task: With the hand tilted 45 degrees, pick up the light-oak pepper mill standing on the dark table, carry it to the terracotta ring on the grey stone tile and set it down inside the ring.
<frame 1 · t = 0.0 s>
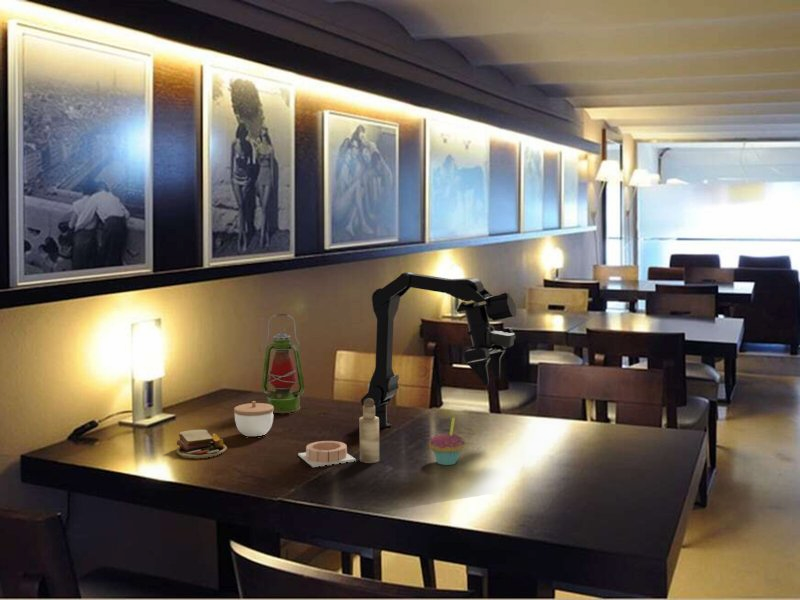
hand: (492, 381, 223), 15 cm above the table, tool pointing down, fingers open, 9 cm apart
ring: (326, 458, 207), on the table
lantern: (283, 410, 259), on the table
toy sandwich meal: (199, 453, 214), on the table
pepper mill: (369, 460, 206), on the table
lidded jar: (254, 435, 230), on the table
cupcake: (446, 463, 203), on the table
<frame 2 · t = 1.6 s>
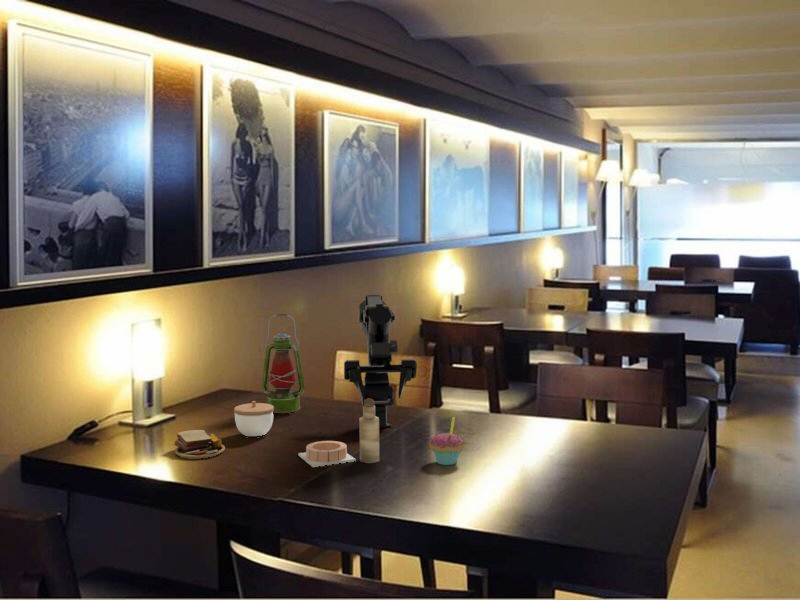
hand: (381, 398, 212), 14 cm above the table, tool tilted 40°, fingers open, 9 cm apart
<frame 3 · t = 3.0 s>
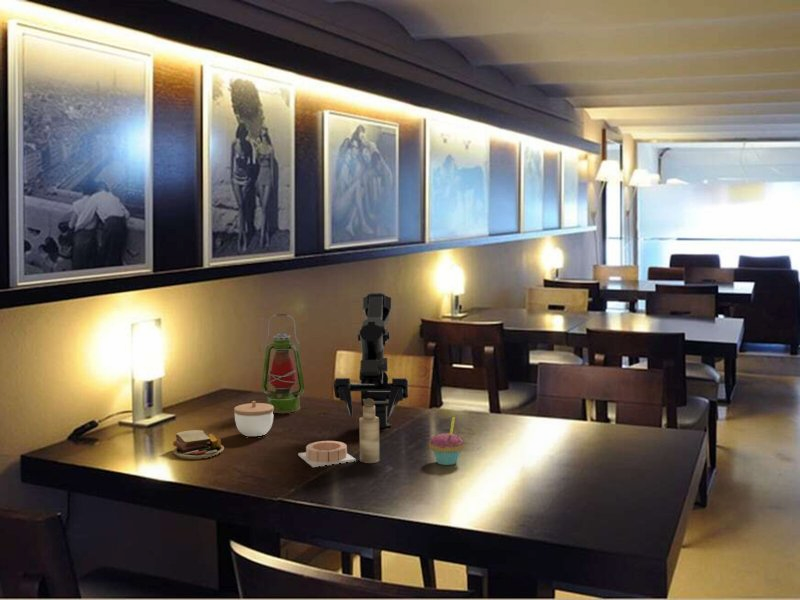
hand: (369, 416, 208), 10 cm above the table, tool tilted 45°, fingers open, 9 cm apart
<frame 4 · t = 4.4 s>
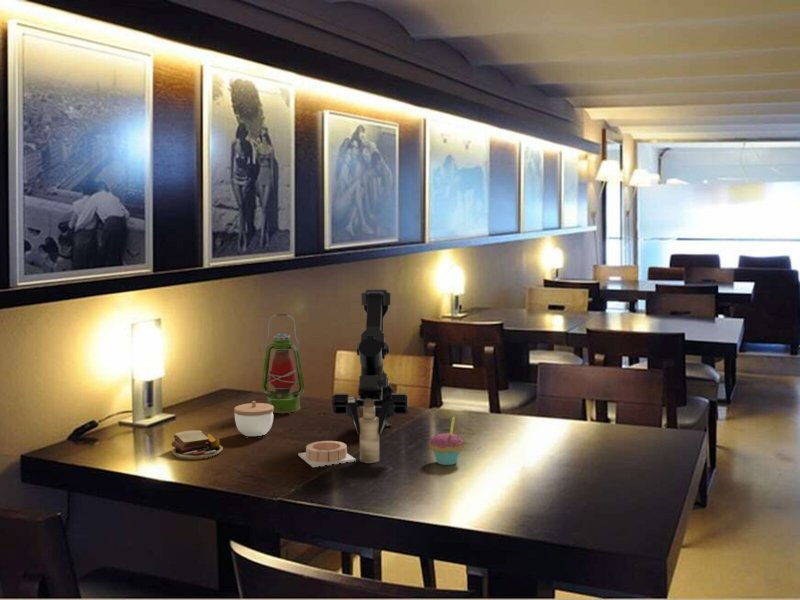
hand: (368, 433, 204), 7 cm above the table, tool tilted 45°, fingers closed on pepper mill, 5 cm apart
pepper mill: (369, 460, 206), on the table, touching gripper
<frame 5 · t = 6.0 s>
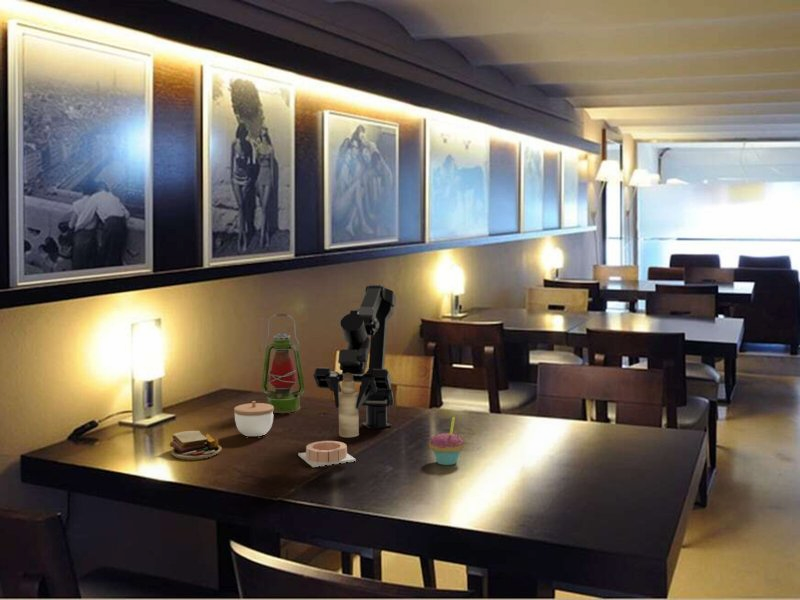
hand: (347, 407, 203), 13 cm above the table, tool tilted 45°, fingers closed on pepper mill, 5 cm apart
pepper mill: (348, 434, 205), point 6 cm above the table, touching gripper
when the fingers open (9 cm above the table, at t = 7.8 s): pepper mill drops 1 cm, resting on ring.
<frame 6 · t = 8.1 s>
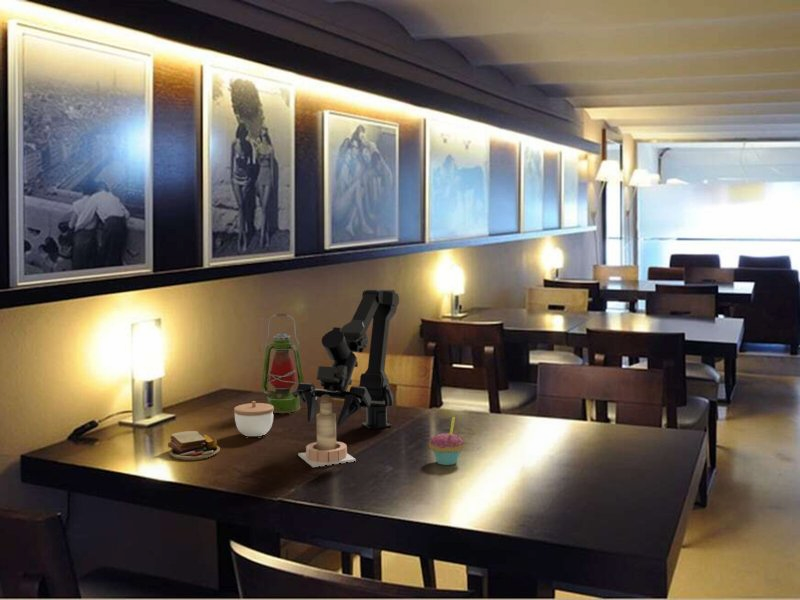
hand: (323, 423, 205), 9 cm above the table, tool tilted 45°, fingers open, 8 cm apart
pepper mill: (326, 455, 207), point 1 cm above the table, touching ring
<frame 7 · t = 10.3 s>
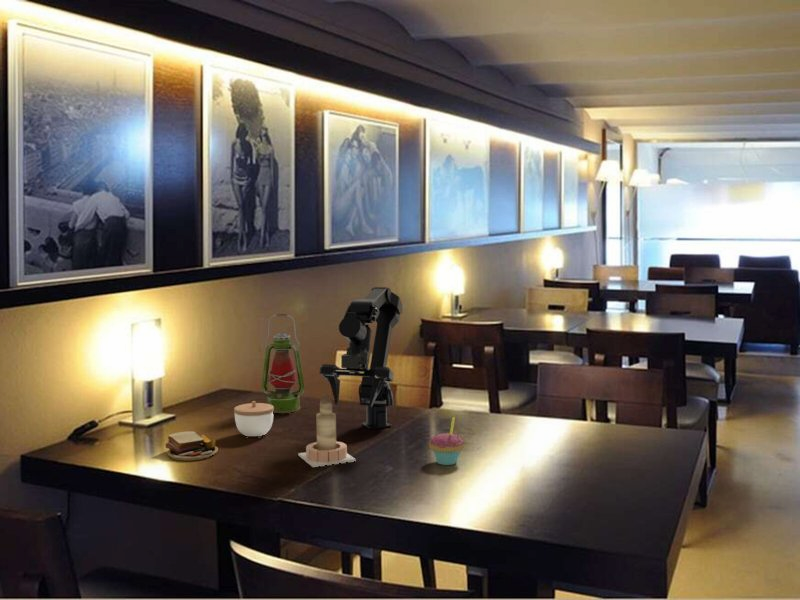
hand: (353, 405, 217), 11 cm above the table, tool tilted 20°, fingers open, 9 cm apart
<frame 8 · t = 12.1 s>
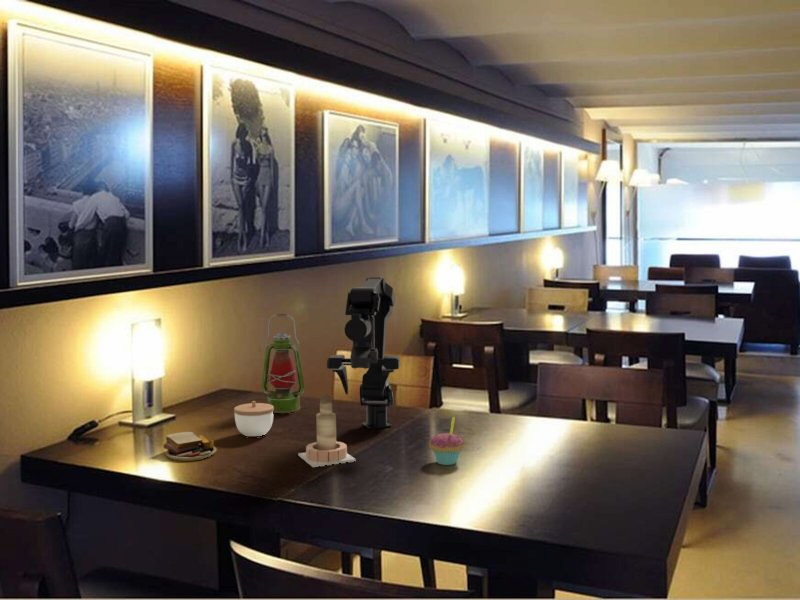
hand: (364, 394, 220), 13 cm above the table, tool pointing down, fingers open, 9 cm apart
at the end: pepper mill 0.1 cm from the ring (horizontally); pepper mill point 0.6 cm above the table; pepper mill tilted 0° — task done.
